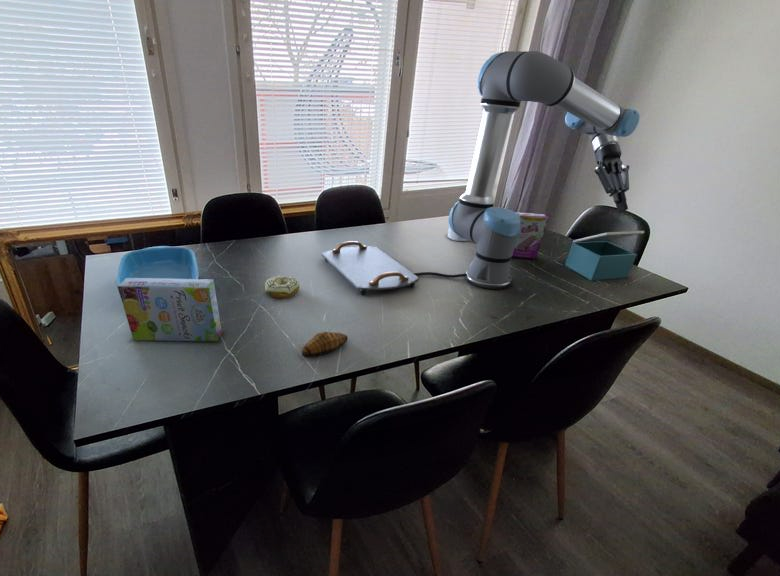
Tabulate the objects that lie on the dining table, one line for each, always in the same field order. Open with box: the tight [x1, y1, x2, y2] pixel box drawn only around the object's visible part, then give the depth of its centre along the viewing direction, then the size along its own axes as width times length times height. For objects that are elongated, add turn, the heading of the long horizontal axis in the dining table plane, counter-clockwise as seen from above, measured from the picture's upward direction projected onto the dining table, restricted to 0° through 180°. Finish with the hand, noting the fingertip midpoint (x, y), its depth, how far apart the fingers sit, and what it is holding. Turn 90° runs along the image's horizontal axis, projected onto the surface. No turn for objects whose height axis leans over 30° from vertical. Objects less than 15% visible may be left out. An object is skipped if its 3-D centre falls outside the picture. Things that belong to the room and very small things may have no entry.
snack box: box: [117, 278, 223, 342], centre depth 103 cm, size 21×6×15 cm, turn 92°
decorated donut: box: [264, 275, 300, 299], centre depth 130 cm, size 10×11×4 cm
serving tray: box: [321, 240, 420, 296], centre depth 145 cm, size 39×23×6 cm, turn 25°
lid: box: [572, 230, 645, 243], centre depth 150 cm, size 15×16×1 cm
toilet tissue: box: [447, 225, 469, 242], centre depth 181 cm, size 11×12×10 cm
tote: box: [564, 241, 638, 281], centre depth 154 cm, size 15×16×9 cm
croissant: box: [301, 330, 349, 358], centre depth 103 cm, size 14×7×5 cm, turn 128°
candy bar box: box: [512, 211, 549, 260], centre depth 162 cm, size 11×5×16 cm, turn 84°
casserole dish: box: [115, 245, 200, 288], centre depth 129 cm, size 37×22×7 cm, turn 21°
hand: (623, 210), depth 142 cm, fingers closed
